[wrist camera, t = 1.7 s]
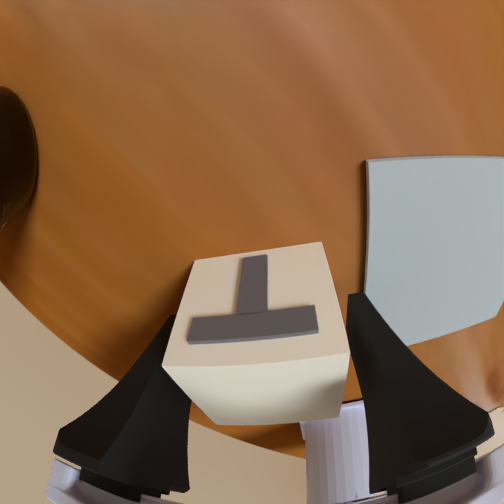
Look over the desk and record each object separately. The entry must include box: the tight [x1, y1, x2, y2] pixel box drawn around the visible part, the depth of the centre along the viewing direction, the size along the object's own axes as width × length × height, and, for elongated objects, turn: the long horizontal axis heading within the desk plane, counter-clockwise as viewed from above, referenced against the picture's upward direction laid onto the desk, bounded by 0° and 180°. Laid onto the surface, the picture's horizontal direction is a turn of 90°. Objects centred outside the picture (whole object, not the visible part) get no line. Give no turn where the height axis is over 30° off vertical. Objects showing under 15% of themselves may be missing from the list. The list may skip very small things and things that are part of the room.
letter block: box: [162, 242, 350, 425], centre depth 10 cm, size 5×5×5 cm
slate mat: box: [363, 156, 504, 346], centre depth 10 cm, size 11×11×1 cm
